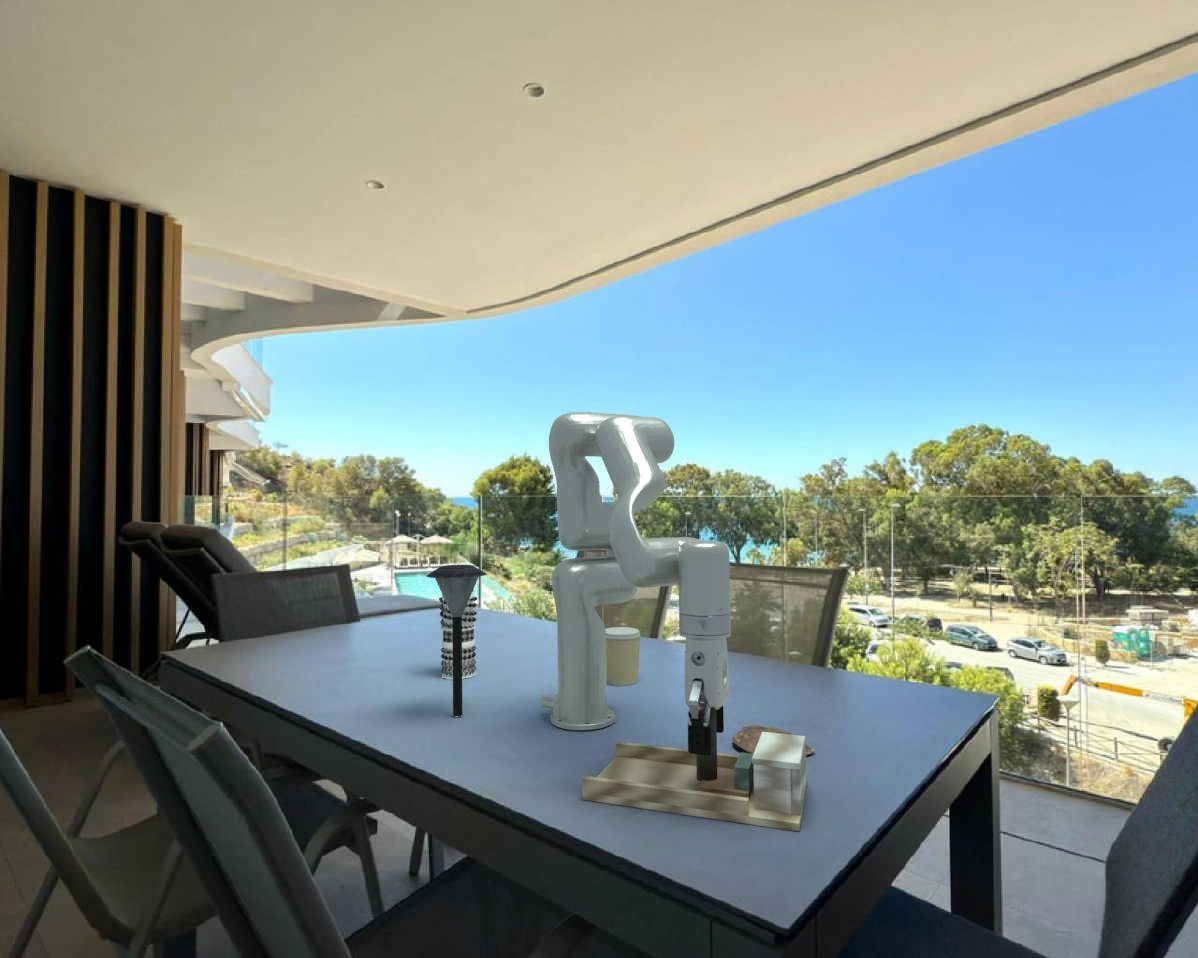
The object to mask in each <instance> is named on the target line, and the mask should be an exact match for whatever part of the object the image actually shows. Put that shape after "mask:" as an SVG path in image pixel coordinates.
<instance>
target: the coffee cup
mask: <svg viewBox="0 0 1198 958" xmlns="http://www.w3.org/2000/svg"><path fill="white" fill-rule="evenodd" d="M605 630H606V678H607V685H610V686H619V687H625V686H632V685H635V684H637V683H638V680H639V667H640V664H639V663H640V645H641V638H640V637H641V632H640V630H639V629H638V628H635V627H627V626H626V627H625V626H620V627H619V626H617V627H616V626H615V627H608V628H605Z"/></svg>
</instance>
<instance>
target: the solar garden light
mask: <svg viewBox="0 0 1198 958" xmlns="http://www.w3.org/2000/svg"><path fill="white" fill-rule="evenodd" d="M487 575H488V573H487V572H485V571H483V570H481V569H480V568H478V567H476V566H474V565H471V564H449V565H448V564H447V565H441V566H439V567H438V568H436V569H434V570H433V571H431V572H429V573H428V574H426V575H425V577H426V578H431V579H435V581H436V583H437V586H438V588H439V590H440V592H441V596H442V595H443V597H444V599H445V601H446V603H447V606H448V608H449V610H450V612H451V614H452V628H453V680H452V716H453V715H454V716H461V715H462V716H463V680H462V614H463V612H464V610H465V608H466V605H467V603H468V601H469V598H470V596H471V594H472V591H473V590H474V589H475V586H476V585H477V582H478V581H479V577H483V576H484V577H485V576H487Z"/></svg>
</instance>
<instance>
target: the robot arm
mask: <svg viewBox="0 0 1198 958" xmlns="http://www.w3.org/2000/svg"><path fill="white" fill-rule="evenodd" d="M672 430H673V429H671V427H670V425H669V424H668V423H667V422H666V421H664V420H663V419H662V418H659V417H655V416H654V417H653V416H642V415H641V416H639V415H631V414H620V413H618V414H617V413H603V412H591V411H574V412H567V413H566V412H565V413H563V414H561V415H559V416H558V417H556V418H555V419H554V421H553V423H552V425H551V427H550V430H549V435H548V450H549V451H548V452H549V458H550V461H551V465H552V468H553V473H554V476H555V482H556V510H557V513H556V514H557V531H558V538H559V542H560V545H562V547H563V548H565V550H566V549H567V550H570V551H582V552H583V551H601V550H603V551H604V550H606V555H607V556H588V557H587V556H586V557H585V556H584V557H573V558H569V559H566V560H563V561H561V562H560V563H558V564H557V565H556V566H555V567H554V569H553V571H552V575H551V586H552V594H553V599H554V604H555V605H554V606H555V611H556V626H557V627H556V628H557V629H556V631H557V637H556V640H557V691H558V692H557V694H555V696H553V695H549V694H548V695H547V694H542V695H541V697H540V699H539V701H540V707H541V708H544V709H545V708H546V709H551V710H553V711H552V713H551V714H550V716H549V719H550V720H549V721H550V723H551V724H552V725H553V726H555V727H557V728H560V729H563V730H570V731H593V730H598V729H602V728H606V727H608V726H611V725H612V724H613V723H615V721H616V712H615V711H613V710H612V709H610V708H608V701H607V700H608V696H607V695H608V694H607V692H608V690H607V689H608V688H607V687H608V686H607V685H608V684H607V678H606V630H605V629H606V626H605V623H604V621H603V619H602V618H601V617H600V615H599V614H598V613H597V611H596V609H595V607H599V606H605V605H613V604H614V605H615V604H622V603H627V602H629V601H630V600H631V601H632V599H634V597H635V596H636V594H637V591H638V588H641V589H642V588H643V589H644V588H657V587H669V586H670V587H671V586H678V628H679V629H678V630H679V632H678V633H679V636H680V637H683V638H685V644H684V645H685V650H684V654H685V655H684V695H685V697H684V698H685V704H686V706H688V707H689V709H688V712H687V715H688V717H687V749H688V752H689V753H691V754H699V755H708V756H709V755H710V754H711V726H709V717H710V709H711V707H712V708H715V710H716V725H717V734H722V733H723V732H724V731H725V725H724V724H725V723H724V721H725V720H724V719H725V717H724V712H725V711H724V704H725V702H726V700H727V699H728V697H729V695H730V673H729V671H730V670H729V657H728V655H729V654H728V643H727V638H730V637H731V636H732V633H731V632H732V631H731V630H732V629H731V627H732V626H731V623H732V621H731V619H732V618H731V617H732V616H731V577H730V575H731V572H730V570H731V569H730V549H729V547H728V545H727V544H726V543H725V542H723V541H720V540H719V541H718V540H702V539H699V538H697V537H696V538H695V537H690V536H680V537H678V536H677V537H676V536H675V537H674V536H673V537H672V536H671V537H670V536H667V537H646V538H643V537H642V535H641V533H640V531H639V529H638V526H637V525H638V524H637V521H636V519H635V516H634V513H636V512H638V511H640V510H642V509H644V508H645V507H648V506H649V505H651V504H652V503H654V502H655V501H657V499H658V498H660V497H661V495H663V493H664V491H665V489H666V479H665V476H664V474H663V472H662V470H661V468H660V466H659V464H663V463H664V462H667V461H668V460H669V459H670V458H671V457H672V455H673V452H674V450H675V449H674V448H675V437H674V436H675V435H674V433H673V431H672ZM586 457H595V458H596V457H599V458H601V459H602V462H603V464H604V467H605V470H606V471H607V473H608V476H609V479H610V481H611V483H612V486H613V489H614V490H615V493H616V496H617V500H616V501H607V502H606V501H601V493H600V480H599V477H598V474H597V472H596V471H595V469H594V468H593V466H592V464H591V463H590V462H589V460H587V458H586ZM702 710H705V714H703V712H702Z"/></svg>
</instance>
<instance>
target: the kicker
mask: <svg viewBox="0 0 1198 958" xmlns="http://www.w3.org/2000/svg"><path fill="white" fill-rule="evenodd" d="M702 712H703V714H705V710H702ZM709 726H711V754H710V755H709V756H708V755H699V754H696V764H697V780H698V781H700V784H699V786H698V791H702V792H709V793H716V794H724V795H731V796H739V797H746V798H749V797H750V794H751V791H752V789H753V786H754V782H753V774H754V764H752V757H753V754H751V753H744V752H741V751H740V753H739V754H738V755H739V757H738V760H737V762H736V764H735V767H734V769H728V768H719V767H717V753H718V744H717V743H718V742H717V741H718V738H717V736H718V735H717V734H718V733H717V725H716V710H715V708H712V707H711V709H710V717H709Z"/></svg>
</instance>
